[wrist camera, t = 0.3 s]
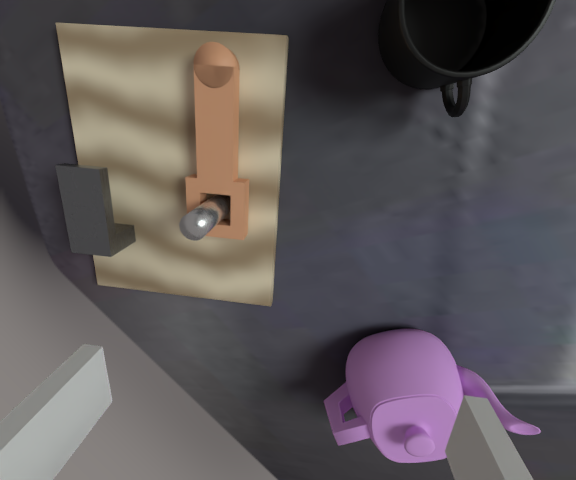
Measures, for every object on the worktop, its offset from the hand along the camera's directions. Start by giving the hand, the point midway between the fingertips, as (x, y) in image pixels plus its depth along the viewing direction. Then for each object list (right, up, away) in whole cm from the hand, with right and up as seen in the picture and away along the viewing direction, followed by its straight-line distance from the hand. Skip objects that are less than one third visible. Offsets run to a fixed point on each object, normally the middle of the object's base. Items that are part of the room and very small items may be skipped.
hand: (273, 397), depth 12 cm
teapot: (+15, -10, +29) cm, 34 cm away
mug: (+14, +23, +17) cm, 32 cm away
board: (-11, +13, +24) cm, 29 cm away
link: (-6, +15, +21) cm, 26 cm away
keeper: (-19, +10, +24) cm, 32 cm away
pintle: (-7, +10, +23) cm, 26 cm away
